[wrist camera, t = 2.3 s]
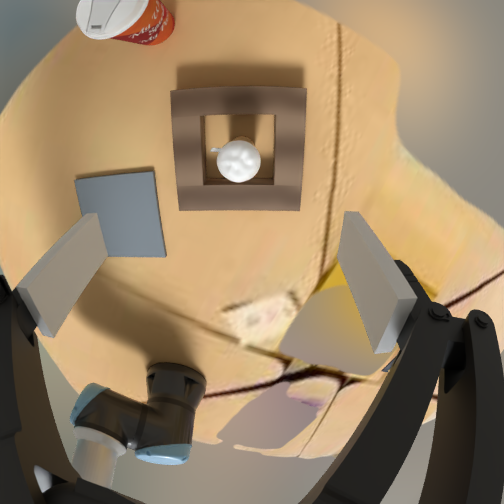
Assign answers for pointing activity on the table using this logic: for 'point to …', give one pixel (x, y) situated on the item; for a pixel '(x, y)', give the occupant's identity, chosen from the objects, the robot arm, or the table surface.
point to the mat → (125, 212)
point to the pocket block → (255, 189)
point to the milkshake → (238, 159)
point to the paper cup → (125, 20)
